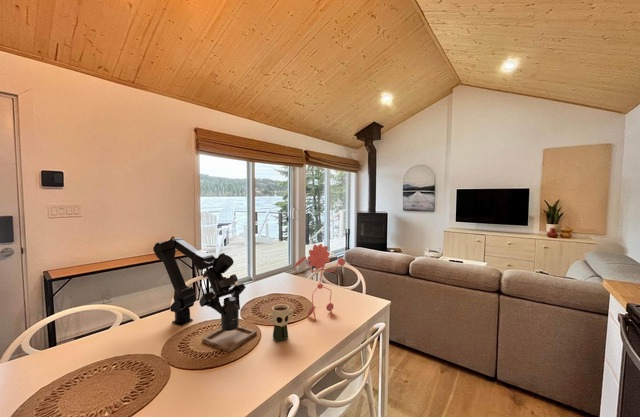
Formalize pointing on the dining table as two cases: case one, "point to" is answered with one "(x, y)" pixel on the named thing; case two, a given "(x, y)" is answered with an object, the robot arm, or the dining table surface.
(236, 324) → the supplement bottle
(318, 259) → the figurine
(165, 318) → the dining table surface
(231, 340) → the tray
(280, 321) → the character mug
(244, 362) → the dining table surface
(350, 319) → the dining table surface
